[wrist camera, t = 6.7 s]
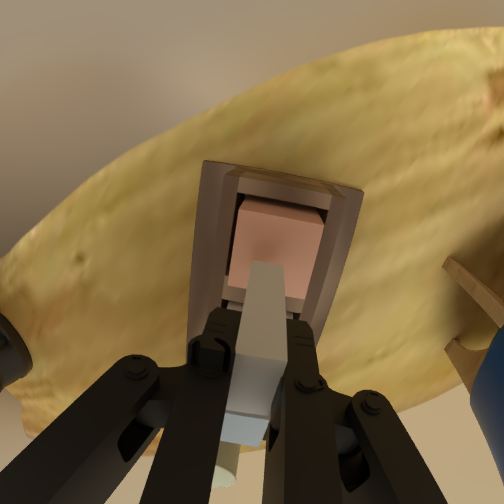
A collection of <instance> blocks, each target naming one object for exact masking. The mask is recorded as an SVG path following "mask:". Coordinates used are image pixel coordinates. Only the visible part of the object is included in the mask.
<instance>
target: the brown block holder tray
mask: <svg viewBox="0 0 504 504" xmlns="http://www.w3.org/2000/svg"><path fill="white" fill-rule="evenodd" d="M248 194H250V195H256V196H261V197H267V198H272V199H277V200H282V201H288V202H293V203H298V204H303V205H307V206H312V207H316V209H317V211H318V213H319V215H320V217H321V219H322V222H323V224H324V229H323V233H322V237H321V241H320V245H319V249H318V253H317V257H316V260H315V264H314V268H313V271H312V275H311V279H310V282H309V286H308V289H307V293H306V296H305V299H299V298H293V297H287V296H285V305H286V311H290V312H293V319H295V320H301V321H307V323H308V324H309V325H310V327H311V328H312V330H313V335H314V341H315V348H316V346H317V344H318V341H319V338H320V336H321V333H322V330H323V327H324V325H325V322H326V319H327V316H328V313H329V311H330V308H331V305H332V302H333V299H334V296H335V293H336V290H337V287H338V284H339V281H340V277H341V274H342V271H343V268H344V265H345V261H346V258H347V255H348V251H349V248H350V244H351V241H352V237H353V234H354V230H355V227H356V223H357V219H358V215H359V211H360V208H361V204H362V200H363V196H364V192H363V191H361V190H358V189H354V188H350V187H345V186H341V185H337V184H333V183H328V182H324V181H319V180H315V179H310V178H305V177H301V176H296V175H291V174H286V173H280V172H275V171H270V170H264V169H259V168H253V167H247V166H241V165H234V164H228V163H221V162H214V161H207V160H205V161H203V164H202V172H201V179H200V187H199V196H198V204H197V213H196V223H195V233H194V243H193V254H192V266H191V278H190V292H189V307H188V325H187V347H186V363H187V351H188V343H189V342H190V340H191V339H192V338H194V337H196V336H198V335H202V332H203V330H204V327H205V324H206V321H207V319H208V316H209V313H210V312H211V311H213V310H214V309H215V308H217V307H221V308H226V309H227V306H228V303H229V300H230V301H235V302H240V303H244V300H245V295H246V290H247V289H244V288H239V287H234V286H229V285H228V278H229V271H230V264H231V258H232V251H233V244H234V238H235V231H236V224H237V218H238V212H239V208H240V206H241V205H242V203H243V201H244V200H245V198H246V196H247V195H248ZM270 419H271V410H270V418H269V422H270ZM269 422H268V424H269Z"/></svg>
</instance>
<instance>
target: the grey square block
mask: <svg viewBox="0 0 504 504" xmlns="http://www.w3.org/2000/svg"><path fill="white" fill-rule="evenodd" d="M269 418H270V413H269V415H268V416H263V415H256V414H249V413H243V412H237V411H231V410H226V411H225V416H224V422H223V427H222V432H221V438H220V441H225V442H230V443H236V444H242V445H248V446H255V447H259V445H260V442H261V440H262V437H263V435H264V432H265V430H266V427H267V425H268V422H269Z"/></svg>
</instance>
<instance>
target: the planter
mask: <svg viewBox="0 0 504 504" xmlns="http://www.w3.org/2000/svg"><path fill="white" fill-rule="evenodd" d="M442 267H443V268H444V269H445V270H446V271H447V272H448V273H449V274H450V275H451V276H452V277H453V278H454V279H455V280H456V281H457V282H458V283H459V284H460V285H461V286H462V287H463V288H464V289H465V290H466V291H467V292H468V293H469V294H470V296H471V297H472V298H473V299H474V300H475V301H476V302H477V303H478V304H479V305H480V306H481V307H482V308H483V309H484V311H485V312H486V313H487V314H488V315H489V316H490V317H491V318H492V320H493V321H494V322H495V323H496V324H497V325H498V326H499V329H498V331H497V333H496V334H495V336H494V338H493V340H492V342H491V344H490V346H489V348H487V349H484V350H478V351H473V350H468V349H466V348H465V347H463V346H462V345H461V344H460V343H459V341H457V340H455V339H452V340H451V342H450V343H449V344H448V345H447V347H446V348H445V349H444V350H445V351H446V353H447V355H448V356H449V358H450V360H451V362H452V363H453V365H454V367H455V368H456V370H457V372H458V374H459V376H460V377H461V379H462V381H463V383H464V385H465V386H466V388H467V390H468V392H469V394H470V405H471V408H472V410H473V412H474V414H475V417H476V419H477V421H478V423H479V425H480V427H481V429H482V431H483V434H484V436H485V438H486V441H487V443H488V445H489V448H490V450H491V452H492V455H493V458H494V460H495V463H496V465H497V468H498V471H499V473H500V476H501V479H502V482H503V485H504V301H503V300H502V299H501V298H500V297H499V296H497V295H496V294H495V293H494V292H493V291H491V290H490V289H489V288H488V287H487V286H485V285H484V284H483V283H482V282H481V281H479V280H478V279H477V278H476V277H475V276H473V275H472V274H471V273H470V272H469V271H467V270H466V269H465V268H464V267H463V266H461V265H460V264H459V263H458V262H456V261H455V260H453V259H452V258H450V257H448V258H447V260H446V261H445V263H444V265H443V266H442Z"/></svg>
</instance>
